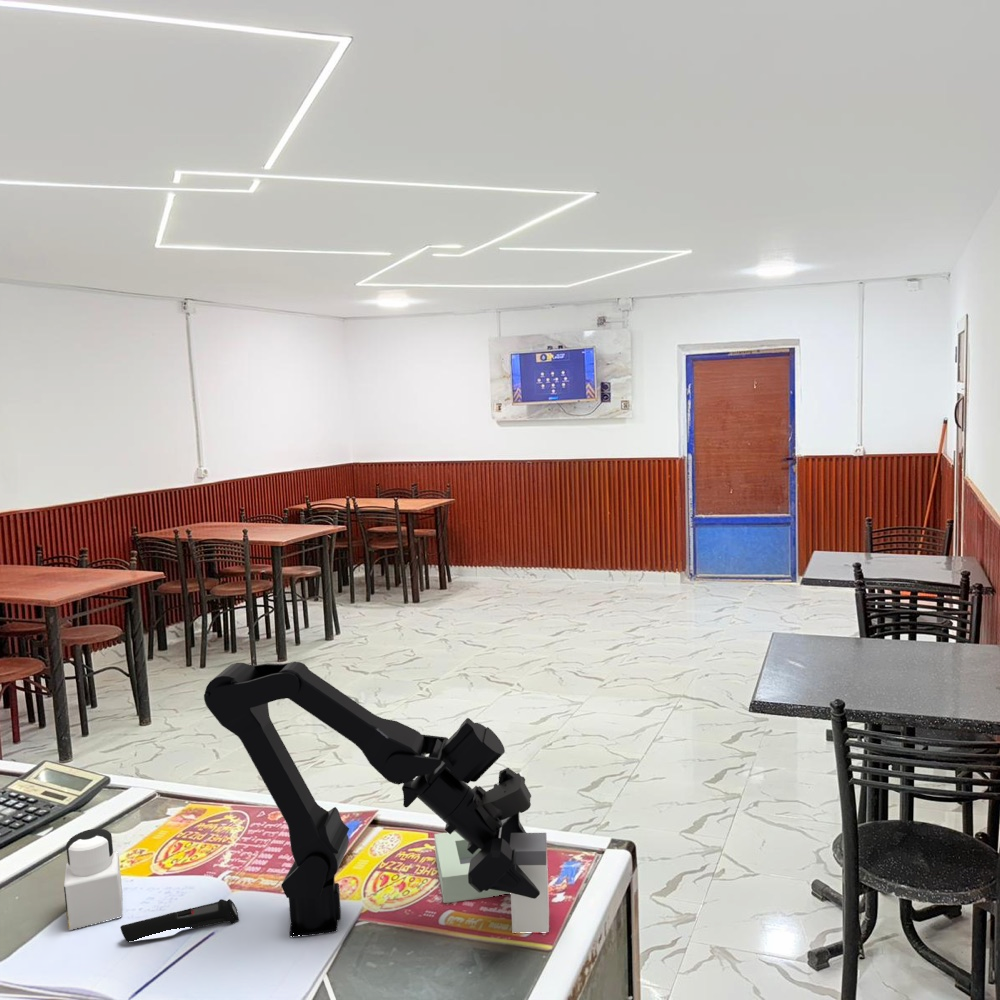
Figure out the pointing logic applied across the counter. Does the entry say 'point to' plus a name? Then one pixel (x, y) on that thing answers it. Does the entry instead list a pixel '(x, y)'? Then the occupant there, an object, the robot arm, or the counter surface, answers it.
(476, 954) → the counter surface
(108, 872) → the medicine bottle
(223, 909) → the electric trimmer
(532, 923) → the white plug block
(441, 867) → the sage block
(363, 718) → the robot arm
